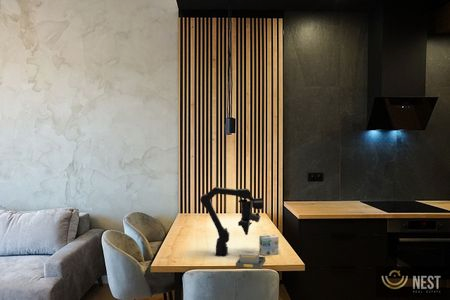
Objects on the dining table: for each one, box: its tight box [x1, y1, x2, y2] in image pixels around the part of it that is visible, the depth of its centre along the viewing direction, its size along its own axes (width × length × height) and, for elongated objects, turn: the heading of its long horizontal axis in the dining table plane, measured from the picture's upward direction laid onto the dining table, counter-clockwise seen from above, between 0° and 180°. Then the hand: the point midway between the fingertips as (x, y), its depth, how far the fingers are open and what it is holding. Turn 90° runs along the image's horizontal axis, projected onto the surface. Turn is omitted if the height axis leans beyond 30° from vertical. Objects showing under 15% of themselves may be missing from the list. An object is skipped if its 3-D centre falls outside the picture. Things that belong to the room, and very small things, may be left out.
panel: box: [239, 252, 260, 264], centre depth 203 cm, size 10×4×6 cm, turn 74°
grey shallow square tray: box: [235, 256, 266, 269], centre depth 206 cm, size 14×15×2 cm
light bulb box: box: [258, 234, 280, 256], centre depth 226 cm, size 11×7×11 cm, turn 103°
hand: (246, 234), depth 224 cm, fingers closed
